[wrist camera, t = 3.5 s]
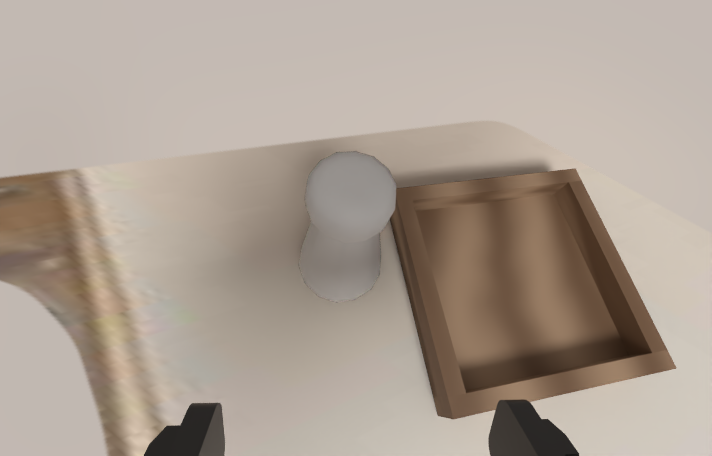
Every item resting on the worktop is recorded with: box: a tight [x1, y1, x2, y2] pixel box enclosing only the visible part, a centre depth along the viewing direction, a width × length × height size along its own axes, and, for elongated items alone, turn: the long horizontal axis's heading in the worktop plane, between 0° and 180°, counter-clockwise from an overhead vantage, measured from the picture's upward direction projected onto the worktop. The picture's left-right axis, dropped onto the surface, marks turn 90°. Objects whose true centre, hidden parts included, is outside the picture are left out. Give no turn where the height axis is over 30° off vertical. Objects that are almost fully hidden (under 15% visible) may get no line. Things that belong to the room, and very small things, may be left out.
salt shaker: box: [299, 151, 396, 303], centre depth 21 cm, size 6×6×13 cm
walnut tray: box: [390, 169, 676, 419], centre depth 27 cm, size 16×16×3 cm
